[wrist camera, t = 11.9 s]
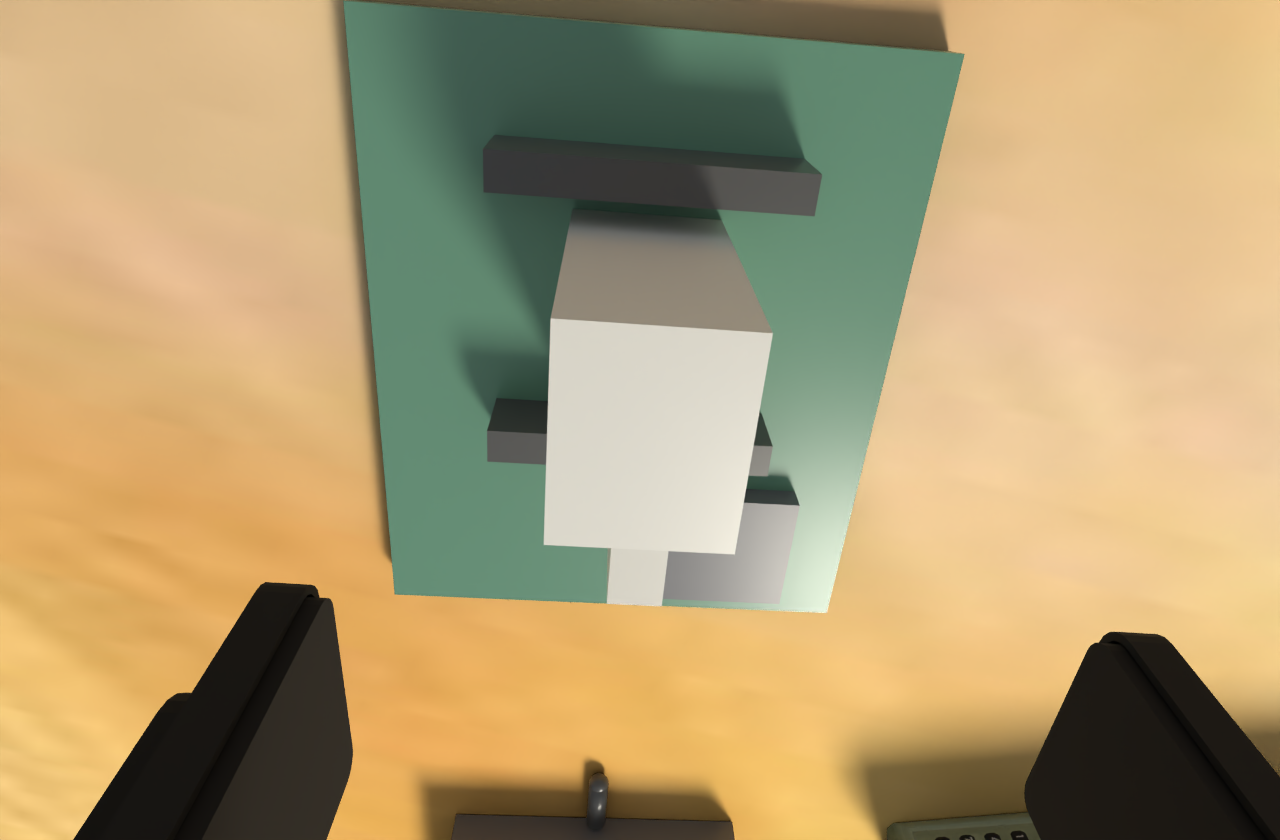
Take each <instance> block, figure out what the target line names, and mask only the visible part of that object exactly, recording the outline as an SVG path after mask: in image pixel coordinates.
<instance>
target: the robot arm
mask: <svg viewBox="0 0 1280 840" xmlns="http://www.w3.org/2000/svg"><path fill="white" fill-rule="evenodd" d="M352 757H353V747H352V739H351V732H350V725H349V718H348V710H347V703H346V696H345V688H344V681H343V674H342V666H341V659H340V652H339V645H338V637H337V630H336V623H335V615H334V608H333V604H332V601H331V599H329V598H319V594H318V590H317V589H316V587H315V586H313V585H304V584H287V583H270V582H265V583H263V584H262V585H260V587H259V588H258V589H257V590H256V592H255V593H254V595H253V596H252V598H251V600H250V601H249V603H248V604H247V606H246V607H245V609H244V611H243V612H242V614H241V615H240V617H239V619H238V620H237V622H236V623H235V625H234V627H233V628H232V630H231V631H230V633H229V634H228V636H227V638H226V639H225V641H224V642H223V644H222V646H221V647H220V649H219V650H218V652H217V653H216V655H215V657H214V658H213V660H212V661H211V663H210V665H209V666H208V668H207V669H206V671H205V673H204V674H203V676H202V677H201V679H200V680H199V682H198V684H197V685H196V687H195V688H194V690H193V692H192V693H177V694H176V695H174V696H173V697H171V698H170V699H168V700H167V701H166V702H165V704H164V705H163V706H162V707H161V708H160V710H159V711H158V712H157V714H156V715H155V717H154V718H153V720H152V721H151V723H150V724H149V726H148V727H147V729H146V730H145V732H144V733H143V735H142V736H141V738H140V739H139V741H138V742H137V744H136V745H135V747H134V748H133V750H132V751H131V753H130V754H129V756H128V758H127V759H126V761H125V762H124V764H123V765H122V767H121V768H120V770H119V771H118V773H117V774H116V776H115V777H114V779H113V780H112V782H111V783H110V785H109V786H108V788H107V789H106V791H105V792H104V794H103V795H102V797H101V798H100V800H99V801H98V803H97V804H96V806H95V807H94V809H93V810H92V812H91V814H90V815H89V817H88V818H87V820H86V821H85V823H84V824H83V826H82V827H81V829H80V830H79V832H78V833H77V835H76V836H75V838H74V839H73V840H326V839H327V837H328V834H329V831H330V828H331V826H332V823H333V820H334V817H335V815H336V812H337V809H338V806H339V804H340V801H341V798H342V795H343V793H344V790H345V787H346V784H347V782H348V778H349V775H350V771H351V765H352ZM1024 794H1025V803H1026V807H1027V811H1028V813H1029V816H1030V818H1031V820H1032V822H1033V824H1034V826H1035V828H1036V831H1037V833H1038V835H1039V837H1040V839H1041V840H1280V777H1279V775H1278V774H1277V773H1276V772H1275V771H1274V769H1273V768H1272V767H1271V766H1270V764H1269V763H1268V762H1267V761H1266V759H1265V758H1264V757H1263V756H1262V754H1261V753H1260V752H1259V751H1258V750H1257V748H1256V747H1255V746H1254V745H1253V743H1252V742H1251V741H1250V740H1249V738H1248V737H1247V736H1246V735H1245V734H1244V732H1243V731H1242V730H1241V729H1240V727H1239V726H1238V725H1237V724H1236V722H1235V721H1234V720H1233V719H1232V717H1231V716H1230V715H1229V714H1228V713H1227V711H1226V710H1225V709H1224V708H1223V706H1222V705H1221V704H1220V703H1219V701H1218V700H1217V699H1216V698H1215V697H1214V695H1213V694H1212V693H1211V692H1210V690H1209V689H1208V688H1207V687H1206V685H1205V684H1204V683H1203V682H1202V680H1201V679H1200V678H1199V677H1198V676H1197V674H1196V673H1195V672H1194V671H1193V669H1192V668H1191V667H1190V666H1189V664H1188V663H1187V662H1186V661H1185V660H1184V658H1183V657H1182V656H1181V655H1180V653H1179V652H1178V651H1177V650H1176V648H1175V647H1174V646H1173V645H1172V644H1171V643H1170V642H1169V641H1168V640H1167V639H1166V638H1165V637H1163V636H1160V635H1158V634H1143V633H1126V632H1109V633H1107V634H1106V635H1104V636H1103V637H1102V639H1101V640H1100V642H1099V643H1094V644H1092V645H1091V646H1090V647H1089V649H1088V650H1087V652H1086V655H1085V657H1084V659H1083V661H1082V663H1081V665H1080V667H1079V670H1078V672H1077V674H1076V676H1075V678H1074V680H1073V682H1072V685H1071V687H1070V689H1069V691H1068V693H1067V695H1066V697H1065V700H1064V702H1063V704H1062V706H1061V708H1060V710H1059V712H1058V715H1057V717H1056V719H1055V721H1054V723H1053V725H1052V727H1051V730H1050V732H1049V734H1048V736H1047V738H1046V740H1045V742H1044V745H1043V747H1042V749H1041V751H1040V753H1039V755H1038V757H1037V760H1036V762H1035V764H1034V766H1033V768H1032V770H1031V772H1030V775H1029V777H1028V779H1027V781H1026V784H1025V792H1024Z"/></svg>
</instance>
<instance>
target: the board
mask: <svg viewBox="0 0 1280 840" xmlns="http://www.w3.org/2000/svg"><path fill="white" fill-rule="evenodd" d="M343 2H344V14H345V25H346V37H347V48H348V60H349V71H350V83H351V94H352V106H353V117H354V129H355V141H356V152H357V164H358V175H359V187H360V198H361V210H362V221H363V233H364V245H365V256H366V268H367V279H368V291H369V302H370V314H371V325H372V337H373V348H374V360H375V372H376V383H377V395H378V406H379V418H380V429H381V441H382V452H383V464H384V475H385V487H386V499H387V510H388V522H389V533H390V545H391V556H392V568H393V579H394V591H395V594H397V595H421V596H444V597H468V598H491V599H514V600H538V601H561V602H584V603H607V555H608V548H595V547H575V546H555V545H544V517H545V485H546V452H547V420H548V387H549V355H550V322H551V314H552V309H553V304H554V299H555V294H556V289H557V284H558V279H559V274H560V269H561V264H562V259H563V254H564V249H565V244H566V239H567V234H568V229H569V224H570V219H571V214H572V209H583V210H596V211H609V212H622V213H635V214H649V215H662V216H675V217H688V218H701V219H715V220H722V222H723V224H724V226H725V228H726V231H727V233H728V235H729V237H730V239H731V242H732V244H733V246H734V248H735V251H736V253H737V255H738V257H739V259H740V262H741V264H742V266H743V268H744V270H745V273H746V275H747V277H748V279H749V281H750V284H751V286H752V288H753V290H754V293H755V295H756V297H757V299H758V301H759V304H760V306H761V308H762V310H763V312H764V315H765V317H766V319H767V321H768V323H769V326H770V328H771V330H772V332H773V336H772V342H771V348H770V353H769V359H768V365H767V371H766V377H765V382H764V388H763V394H762V400H761V406H760V411H759V417H758V423H757V429H756V435H755V440H754V446H753V452H752V458H751V464H750V469H749V475H748V481H747V487H746V492H745V498H744V504H743V510H742V516H741V521H740V527H739V533H738V539H737V545H736V550H735V554H715V553H695V552H675V551H668V560H667V568H666V576H665V584H664V592H663V600H662V606H678V607H701V608H725V609H748V610H772V611H795V612H818V613H827V610H828V605H829V601H830V597H831V593H832V589H833V585H834V581H835V577H836V573H837V569H838V565H839V561H840V557H841V553H842V549H843V545H844V541H845V537H846V533H847V528H848V524H849V520H850V516H851V512H852V508H853V504H854V500H855V496H856V492H857V488H858V484H859V480H860V476H861V472H862V468H863V464H864V460H865V455H866V451H867V447H868V443H869V439H870V435H871V431H872V427H873V423H874V419H875V415H876V411H877V407H878V403H879V399H880V395H881V391H882V387H883V383H884V378H885V374H886V370H887V366H888V362H889V358H890V354H891V350H892V346H893V342H894V338H895V334H896V330H897V326H898V322H899V318H900V314H901V310H902V305H903V301H904V297H905V293H906V289H907V285H908V281H909V277H910V273H911V269H912V265H913V261H914V257H915V253H916V249H917V245H918V241H919V237H920V233H921V228H922V224H923V220H924V216H925V212H926V208H927V204H928V200H929V196H930V192H931V188H932V184H933V180H934V176H935V172H936V168H937V164H938V160H939V156H940V151H941V147H942V143H943V139H944V135H945V131H946V127H947V123H948V119H949V115H950V111H951V107H952V103H953V99H954V95H955V91H956V87H957V83H958V78H959V74H960V70H961V66H962V62H963V58H964V54H961V53H956V52H951V51H941V50H929V49H918V48H906V47H894V46H883V45H871V44H860V43H848V42H836V41H825V40H813V39H802V38H790V37H778V36H767V35H755V34H744V33H732V32H720V31H709V30H697V29H686V28H674V27H662V26H651V25H639V24H628V23H616V22H604V21H593V20H581V19H570V18H558V17H546V16H535V15H523V14H512V13H500V12H488V11H477V10H465V9H454V8H442V7H430V6H419V5H407V4H396V3H384V2H372V1H361V0H346V1H343Z"/></svg>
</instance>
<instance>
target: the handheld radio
mask: <svg viewBox="0 0 1280 840" xmlns="http://www.w3.org/2000/svg"><path fill="white" fill-rule="evenodd" d="M887 840H1041V839H1040V837H1039V835H1038V833H1037V831H1036V828H1035V826H1034V824H1033V822H1032V820H1031V818H1030V816H1029V813H1028V812H1025V813H1012V814H1000V815H987V816H975V817H963V818H951V819H938V820H926V821H914V822H902V823H893V824H891V825H890V826H889V827H888V828H887Z"/></svg>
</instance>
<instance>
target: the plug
mask: <svg viewBox="0 0 1280 840" xmlns="http://www.w3.org/2000/svg"><path fill="white" fill-rule="evenodd" d="M772 336H773V332H772V330H771V328H770V326H769V323H768V321H767V319H766V317H765V315H764V312H763V310H762V308H761V306H760V304H759V301H758V299H757V297H756V295H755V293H754V290H753V288H752V286H751V284H750V281H749V279H748V277H747V275H746V273H745V270H744V268H743V266H742V264H741V262H740V259H739V257H738V255H737V253H736V251H735V248H734V246H733V244H732V242H731V239H730V237H729V235H728V233H727V231H726V228H725V226H724V224H723V222H722V220H715V219H701V218H688V217H675V216H662V215H649V214H635V213H622V212H609V211H596V210H583V209H572V214H571V219H570V224H569V229H568V234H567V239H566V244H565V249H564V254H563V259H562V264H561V269H560V274H559V279H558V284H557V289H556V294H555V299H554V304H553V309H552V314H551V322H550V355H549V387H548V420H547V452H546V485H545V517H544V545H555V546H575V547H595V548H608V555H607V604H623V605H645V606H662V600H663V592H664V584H665V576H666V568H667V560H668V551H675V552H695V553H715V554H735V550H736V545H737V539H738V533H739V527H740V521H741V516H742V510H743V504H744V498H745V492H746V487H747V481H748V475H749V469H750V464H751V458H752V452H753V446H754V440H755V435H756V429H757V423H758V417H759V411H760V406H761V400H762V394H763V388H764V382H765V377H766V371H767V365H768V359H769V353H770V348H771V342H772Z"/></svg>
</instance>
